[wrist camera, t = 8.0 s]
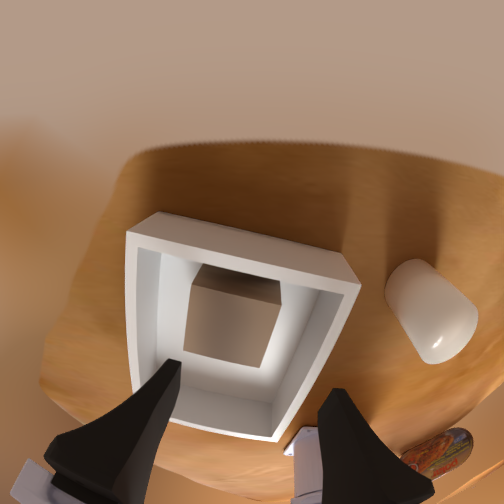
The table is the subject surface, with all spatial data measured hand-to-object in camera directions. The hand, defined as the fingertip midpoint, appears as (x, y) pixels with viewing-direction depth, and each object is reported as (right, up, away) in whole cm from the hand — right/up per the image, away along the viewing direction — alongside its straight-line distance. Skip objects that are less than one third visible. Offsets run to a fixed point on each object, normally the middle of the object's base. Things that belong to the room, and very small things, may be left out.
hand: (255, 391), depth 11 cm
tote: (-2, 0, +11) cm, 11 cm away
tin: (+31, -27, +19) cm, 46 cm away
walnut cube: (-1, +4, +9) cm, 9 cm away
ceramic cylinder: (+13, +4, +8) cm, 16 cm away
